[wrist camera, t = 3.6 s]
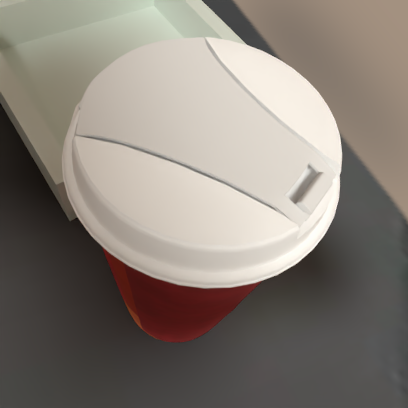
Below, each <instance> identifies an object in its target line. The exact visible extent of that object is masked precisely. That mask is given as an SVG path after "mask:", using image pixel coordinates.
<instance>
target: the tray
mask: <svg viewBox="0 0 408 408" xmlns="http://www.w3.org/2000/svg"><path fill="white" fill-rule="evenodd" d="M196 37H204V38H205V37H211V38H218V39H224V40H230V41H234V42H237V43H241V44H244V45H246V44H245V43H244V42H243V41H242V40H241V39H240V38H239V37H238V36H237V35H236V34H235V33H234V32H233V31H232V30H231V29H230V28H229V27H228V26H227V25H226V24H225V23H224V22H223V21H222V20H221V19H220V18H219V17H218V16H217V15H216V14H215V13H214V12H213V11H212V10H211V9H210V8H209V7H208V6H207V5H206V4H205V3H204V2H203V1H202V0H0V103H1V105H2V107H3V108H4V110H5V112H6V113H7V115H8V117H9V118H10V120H11V122H12V124H13V125H14V127H15V129H16V130H17V132H18V134H19V135H20V137H21V139H22V141H23V142H24V144H25V146H26V147H27V149H28V151H29V152H30V154H31V156H32V158H33V159H34V161H35V163H36V164H37V166H38V168H39V169H40V171H41V173H42V175H43V176H44V178H45V180H46V181H47V183H48V185H49V186H50V188H51V190H52V192H53V193H54V195H55V197H56V198H57V200H58V202H59V204H60V205H61V207H62V209H63V210H64V212H65V214H66V215H67V217H68V219H69V221H71V220H73V219H75V218H77V215H76V213H75V211H74V209H73V207H72V205H71V203H70V201H69V199H68V196H67V192H66V188H65V184H64V180H63V172H62V154H63V147H64V140H65V138H66V135H67V132H68V129H69V127H70V124H71V121H72V117H73V114H74V111H75V108H76V106H77V104H78V103H79V102H80V101H81V99H82V97H83V95H84V93H85V91H86V89H87V87H88V86H89V84H90V83H91V81H92V80H93V79H94V78H95V77H96V76H97V75H98V74H99V73H101V72H102V70H104V69H105V68H106V67H107V66H109V65H110V64H111V63H112V62H114V61H115V60H116V59H118V58H120V57H121V56H123V55H125V54H126V53H128V52H130V51H131V50H134V49H136V48H139V47H141V46H143V45H146V44H150V43H154V42H158V41H162V40H171V39H180V38H196Z"/></svg>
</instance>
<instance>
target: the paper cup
mask: <svg viewBox="0 0 408 408" xmlns="http://www.w3.org/2000/svg"><path fill="white" fill-rule="evenodd" d="M341 163H342V149H341V141H340V135H339V131H338V128H337V125H336V122H335V119H334V117H333V115H332V113H331V111H330V109H329V108H328V105H327V104H326V103H325V101H324V100H323V98H322V97H321V96H320V94H319V93H318V92H317V90H316V89H315V88H314V87H313V86H312V85H311V84H310V83H309V82H308V81H307V80H306V79H305V78H304V77H302V76H301V75H300V74H299V73H298V72H297V71H295V70H294V69H293V68H291V67H290V66H288V65H287V64H285V63H284V62H282V61H281V60H279V59H277V58H275V57H273V56H271V55H269V54H267V53H265V52H263V51H261V50H258V49H256V48H253V47H250V46H248V45H244V44H241V43H237V42H234V41H230V40H224V39H218V38H211V37H205V38H204V37H196V38H180V39H171V40H162V41H158V42H154V43H150V44H146V45H143V46H141V47H139V48H136V49H134V50H131V51H130V52H128V53H126V54H125V55H123V56H121V57H120V58H118V59H116V60H115V61H114V62H112V63H111V64H110V65H109V66H107V67H106V68H105V69H104V70H102V72H101V73H99V74H98V75H97V76H96V77H95V78H94V79H93V80H92V81H91V83H90V84H89V86H88V87H87V89H86V91H85V93H84V95H83V97H82V99H81V101H80V102H79V103H78V104H77V106H76V108H75V111H74V114H73V117H72V121H71V124H70V127H69V129H68V132H67V135H66V138H65V140H64V147H63V154H62V172H63V180H64V184H65V188H66V192H67V196H68V199H69V201H70V203H71V205H72V207H73V209H74V211H75V213H76V215H77V217H78V219H79V220H80V222H81V223H82V224H83V226H84V227H85V228H86V230H87V231H88V232H89V234H90V235H91V236H92V237H93V238H94V239H95V240H96V241H97V242H98V243H99V244H100V245H101V246H102V248H103V251H104V253H105V256H106V258H107V261H108V263H109V266H110V268H111V271H112V273H113V276H114V278H115V280H116V283H117V285H118V288H119V290H120V292H121V295H122V297H123V299H124V302H125V304H126V306H127V308H128V310H129V312H130V314H131V316H132V318H133V319H134V321H135V322H136V323H137V325H138V326H139V327H140V328H141V329H142V330H143V331H145V332H146V333H147V334H149V335H150V336H152V337H154V338H157V339H159V340H162V341H167V342H185V341H190V340H193V339H195V338H198V337H200V336H201V335H203V334H205V333H206V332H208V331H209V330H210V329H211V328H213V327H214V326H215V325H216V324H217V323H218V322H220V321H221V320H222V319H223V318H224V317H225V316H226V315H227V314H229V313H230V312H231V311H232V310H233V309H234V308H235V307H236V306H237V305H238V304H239V303H240V302H241V301H242V300H243V299H244V298H245V297H246V296H247V295H248V294H249V293H250V292H251V291H252V290H253V289H254V288H255V287H256V286H257V285H259V284H260V283H261V282H262V281H263V280H265V279H268V278H270V277H273V276H276V275H278V274H280V273H281V272H283V271H285V270H287V269H288V268H290V267H292V266H294V265H295V264H297V263H298V262H299V261H300V260H301V259H303V258H304V257H305V256H306V255H307V254H308V253H310V252H311V251H312V250H313V249H314V248H315V246H316V245H317V244H318V243H319V241H320V240H321V239H322V237H323V236H324V235H325V234H326V232H327V230H328V228H329V226H330V224H331V222H332V220H333V218H334V215H335V211H336V208H337V204H338V200H339V189H340V177H339V175H340V173H341Z"/></svg>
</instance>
